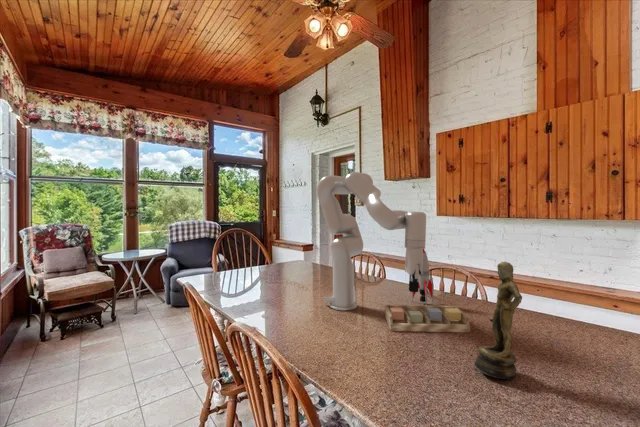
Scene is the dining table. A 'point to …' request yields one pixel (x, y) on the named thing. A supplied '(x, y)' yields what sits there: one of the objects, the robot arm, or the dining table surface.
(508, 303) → the statue
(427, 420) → the dining table surface
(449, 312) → the key mustard
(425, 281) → the toy
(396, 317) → the key terracotta
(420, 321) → the key sage
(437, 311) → the key slate
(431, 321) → the tray
